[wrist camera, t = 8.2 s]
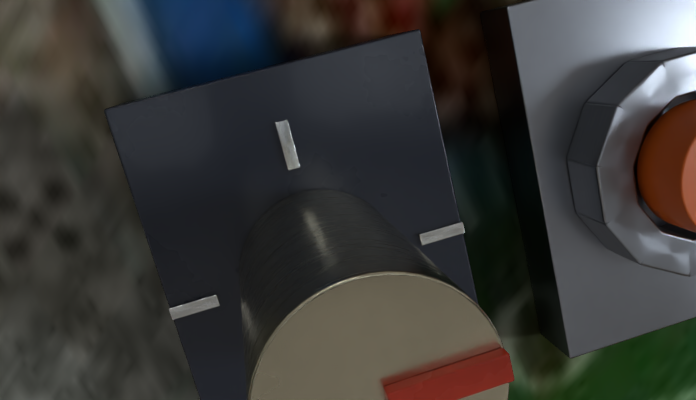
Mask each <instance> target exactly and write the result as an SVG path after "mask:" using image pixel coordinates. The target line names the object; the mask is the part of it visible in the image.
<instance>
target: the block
mask: <svg viewBox="0 0 696 400" xmlns="http://www.w3.org/2000/svg"><path fill="white" fill-rule="evenodd" d="M480 15H481V20H482V25H483V31H484V36H485V41H486V46H487V52H488V57H489V62H490V67H491V73H492V78H493V83H494V88H495V94H496V99H497V104H498V110H499V115H500V120H501V125H502V131H503V136H504V141H505V146H506V152H507V157H508V162H509V167H510V173H511V178H512V183H513V189H514V194H515V199H516V204H517V210H518V215H519V220H520V225H521V231H522V236H523V241H524V247H525V252H526V257H527V262H528V268H529V273H530V278H531V283H532V289H533V294H534V299H535V304H536V310H537V315H538V320H539V326H540V331H541V334H542V335H543V336H544V337H545V338H546V339H548V340H549V341H550V342H551V343H552V344H554V345H555V346H556V347H557V348H558V349H559V350H561V351H562V352H563V353H564V354H565V355H567V356H568V357H569V358H574V357H577V356H580V355H583V354H586V353H589V352H592V351H595V350H598V349H601V348H604V347H607V346H610V345H613V344H616V343H619V342H622V341H625V340H628V339H631V338H634V337H637V336H640V335H643V334H646V333H649V332H652V331H655V330H658V329H661V328H664V327H667V326H670V325H673V324H676V323H679V322H683V321H686V320H689V319H692V318H695V317H696V233H695V232H692V231H689V230H686V229H684V228H681V227H678V226H675V225H672V224H669V223H667V222H665V221H663V220H661V219H660V218H659V217H657V216H656V215H655V214H654V213H653V212H652V211H651V210H650V209H649V207H648V206H647V205H646V203H645V201H644V199H643V198H642V195H641V192H640V190H639V185H638V180H637V163H638V157H639V153H640V149H641V146H642V144H643V141H644V139H645V137H646V135H647V134H648V132H649V130H650V129H651V128H652V126H653V125H654V124H655V122H656V121H657V120H658V119H659V118H660V117H661V116H662V115H663V114H665V113H666V112H667V111H669V110H670V109H671V108H673V107H675V106H677V105H679V104H681V103H683V102H686V101H689V100H694V99H696V0H526V1H522V2H518V3H514V4H510V5H506V6H502V7H498V8H494V9H491V10H487V11H483V12H481V13H480Z"/></svg>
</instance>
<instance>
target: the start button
mask: <svg viewBox="0 0 696 400" xmlns="http://www.w3.org/2000/svg"><path fill="white" fill-rule="evenodd" d="M637 180H638V185H639V190H640V192H641V195H642V198H643V199H644V201H645V203H646V205H647V206H648V207H649V209H650V210H651V211H652V212H653V213H654V214H655V215H656V216H657V217H659V218H660V219H661V220H663V221H665V222H667V223H669V224H672V225H675V226H678V227H681V228H684V229H686V230H689V231H692V232H695V233H696V99H694V100H689V101H686V102H683V103H681V104H679V105H677V106H675V107H673V108H671V109H670V110H669V111H667V112H666V113H665V114H663V115H662V116H661V117H660V118H659V119H658V120H657V121H656V122H655V124H654V125H653V126H652V128H651V129H650V130H649V132H648V134H647V135H646V137H645V139H644V141H643V144H642V146H641V149H640V153H639V157H638V163H637Z"/></svg>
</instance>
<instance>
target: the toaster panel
mask: <svg viewBox="0 0 696 400" xmlns="http://www.w3.org/2000/svg"><path fill="white" fill-rule="evenodd" d="M104 113H105V116H106V119H107V122H108V125H109V128H110V131H111V134H112V137H113V140H114V143H115V146H116V149H117V152H118V155H119V158H120V161H121V164H122V167H123V170H124V173H125V176H126V179H127V182H128V185H129V188H130V191H131V193H132V196H133V199H134V202H135V205H136V208H137V211H138V214H139V217H140V220H141V223H142V226H143V229H144V232H145V235H146V238H147V241H148V244H149V247H150V250H151V253H152V256H153V259H154V262H155V265H156V268H157V271H158V274H159V277H160V280H161V283H162V286H163V289H164V292H165V295H166V298H167V301H168V304H169V312H170V315H171V318H172V320H174V322H175V325H176V328H177V331H178V334H179V337H180V340H181V343H182V346H183V349H184V352H185V355H186V358H187V361H188V364H189V367H190V370H191V373H192V376H193V379H194V382H195V385H196V388H197V391H198V394H199V397H200V400H247V396H246V380H245V364H244V348H243V332H242V316H241V300H240V284H239V261H240V256H241V251H242V248H243V245H244V242H245V240H246V238H247V236H248V234H249V232H250V230H251V229H252V227H253V226H254V224H255V223H256V222H257V220H258V219H259V218H260V217H261V216H262V215H263V214H264V213H265V212H266V211H267V210H268V209H269V208H271V207H272V206H273V205H275V204H276V203H278V202H279V201H281V200H283V199H285V198H287V197H289V196H291V195H294V194H297V193H300V192H304V191H309V190H317V189H330V190H337V191H343V192H346V193H349V194H352V195H355V196H357V197H359V198H361V199H363V200H364V201H366V202H367V203H369V204H370V205H372V206H373V207H374V208H375V209H376V210H378V211H379V212H380V213H381V214H382V215H383V216H384V217H385V218H386V219H387V220H388V221H389V222H390V223H391V224H393V225H394V226H395V227H396V228H397V229H398V230H399V231H400V232H401V233H402V234H403V235H404V236H405V237H406V238H408V239H409V240H410V241H411V242H412V243H413V244H414V245H415V246H416V247H417V248H418V249H419V250H420V251H421V252H422V253H424V254H425V255H426V256H427V257H428V258H429V259H430V260H431V261H432V262H433V263H434V264H435V265H436V266H437V267H438V268H440V269H441V270H442V271H443V272H444V273H445V274H446V275H447V276H448V277H449V278H450V279H451V280H452V281H453V282H455V283H456V284H457V285H458V286H459V287H460V288H461V289H462V290H463V291H464V292H465V293H466V294H467V295H468V296H469V297H471V298H472V299H473V300H474V301H475V302H476V303H477V304H478V301H477V296H476V291H475V287H474V282H473V277H472V272H471V268H470V263H469V258H468V254H467V249H466V244H465V239H464V235H463V233H465V230H464V225H463V222H462V221H460V216H459V211H458V206H457V202H456V197H455V192H454V188H453V183H452V178H451V173H450V169H449V164H448V159H447V155H446V150H445V145H444V140H443V136H442V131H441V126H440V122H439V117H438V112H437V108H436V103H435V98H434V93H433V89H432V84H431V79H430V75H429V70H428V65H427V60H426V56H425V51H424V46H423V42H422V37H421V32H420V30H419V29H417V30H412V31H407V32H402V33H397V34H392V35H388V36H385V37H381V38H377V39H373V40H369V41H365V42H361V43H357V44H353V45H349V46H345V47H341V48H337V49H333V50H330V51H326V52H322V53H318V54H314V55H310V56H306V57H302V58H298V59H294V60H290V61H286V62H282V63H278V64H275V65H271V66H267V67H263V68H259V69H255V70H251V71H247V72H243V73H239V74H235V75H231V76H227V77H224V78H220V79H216V80H212V81H208V82H204V83H200V84H196V85H192V86H188V87H184V88H180V89H176V90H172V91H169V92H165V93H161V94H157V95H153V96H149V97H145V98H141V99H137V100H133V101H129V102H125V103H122V104H119V105H116V106H113V107H110V108H107V109H105V110H104Z"/></svg>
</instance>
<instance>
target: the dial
mask: <svg viewBox="0 0 696 400" xmlns="http://www.w3.org/2000/svg"><path fill="white" fill-rule="evenodd" d="M239 284H240V300H241V316H242V332H243V348H244V364H245V380H246V396H247V400H508V393H509V382H512V381H514V375H513V370H512V365H511V361H510V356H509V354H508V352H507V351H506V350H505V349H504V347H503V343H502V341H501V339H500V337H499V334H498V332H497V330H496V328H495V326H494V325H493V323H492V322H491V320H490V319H489V317H488V316H487V314H486V313H485V312H484V311H483V310H482V309H481V307H480V306H479V305H478V304H477V303H476V302H475V301H474V300H473V299H472V298H471V297H469V296H468V295H467V294H466V293H465V292H464V291H463V290H462V289H461V288H460V287H459V286H458V285H457V284H456V283H455V282H453V281H452V280H451V279H450V278H449V277H448V276H447V275H446V274H445V273H444V272H443V271H442V270H441V269H440V268H438V267H437V266H436V265H435V264H434V263H433V262H432V261H431V260H430V259H429V258H428V257H427V256H426V255H425V254H424V253H422V252H421V251H420V250H419V249H418V248H417V247H416V246H415V245H414V244H413V243H412V242H411V241H410V240H409V239H408V238H406V237H405V236H404V235H403V234H402V233H401V232H400V231H399V230H398V229H397V228H396V227H395V226H394V225H393V224H391V223H390V222H389V221H388V220H387V219H386V218H385V217H384V216H383V215H382V214H381V213H380V212H379V211H378V210H376V209H375V208H374V207H373V206H372V205H370V204H369V203H367V202H366V201H364V200H363V199H361V198H359V197H357V196H355V195H352V194H349V193H346V192H343V191H337V190H330V189H317V190H309V191H304V192H300V193H297V194H294V195H291V196H289V197H287V198H285V199H283V200H281V201H279V202H278V203H276V204H275V205H273V206H272V207H271V208H269V209H268V210H267V211H266V212H265V213H264V214H263V215H262V216H261V217H260V218H259V219H258V220H257V222H256V223H255V224H254V226H253V227H252V229H251V230H250V232H249V234H248V236H247V238H246V240H245V242H244V245H243V248H242V251H241V256H240V261H239Z"/></svg>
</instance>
